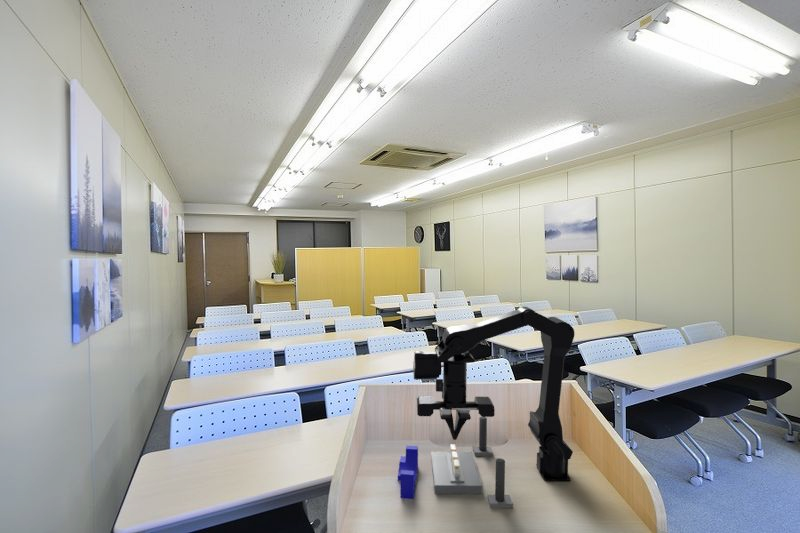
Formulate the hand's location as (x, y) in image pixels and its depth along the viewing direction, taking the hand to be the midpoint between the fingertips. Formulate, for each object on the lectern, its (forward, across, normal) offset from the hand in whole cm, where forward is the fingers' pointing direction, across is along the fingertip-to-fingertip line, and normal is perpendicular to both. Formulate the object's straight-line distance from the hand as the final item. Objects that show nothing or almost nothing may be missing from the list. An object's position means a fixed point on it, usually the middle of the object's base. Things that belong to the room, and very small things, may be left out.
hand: (454, 439), depth 95 cm
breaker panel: (+10, 0, 0) cm, 10 cm away
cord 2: (+10, -9, +10) cm, 17 cm away
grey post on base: (+10, -9, -10) cm, 17 cm away
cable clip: (+10, +12, +3) cm, 16 cm away
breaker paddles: (+7, 0, 0) cm, 7 cm away
